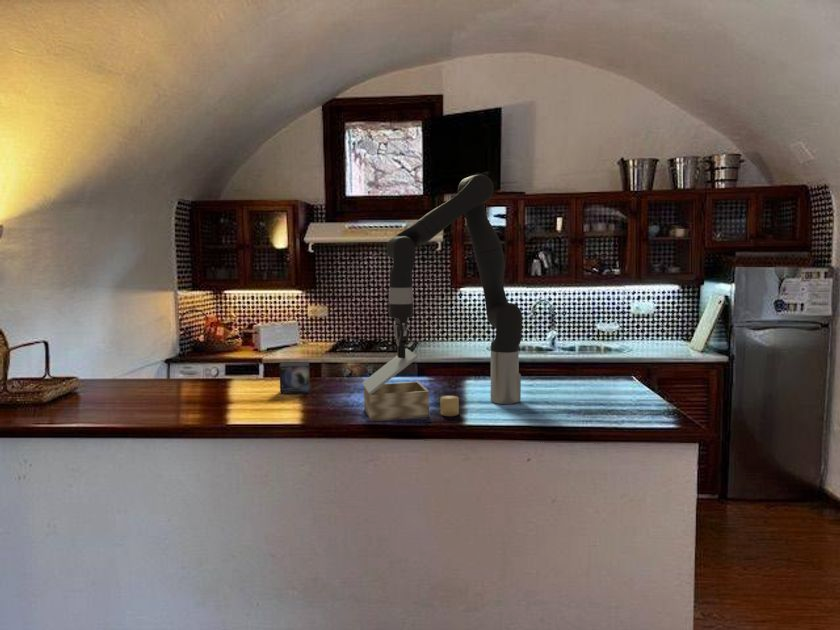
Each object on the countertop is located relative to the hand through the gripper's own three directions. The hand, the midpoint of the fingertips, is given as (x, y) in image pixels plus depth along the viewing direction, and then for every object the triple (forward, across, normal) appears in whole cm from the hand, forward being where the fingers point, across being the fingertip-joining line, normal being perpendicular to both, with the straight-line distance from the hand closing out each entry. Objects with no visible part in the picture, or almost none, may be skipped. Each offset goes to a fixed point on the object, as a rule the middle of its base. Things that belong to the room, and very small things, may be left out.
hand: (401, 357), depth 184 cm
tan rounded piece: (+17, -5, -14) cm, 23 cm away
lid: (+4, 0, +4) cm, 6 cm away
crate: (+18, 0, +2) cm, 18 cm away
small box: (+18, +37, +32) cm, 52 cm away
